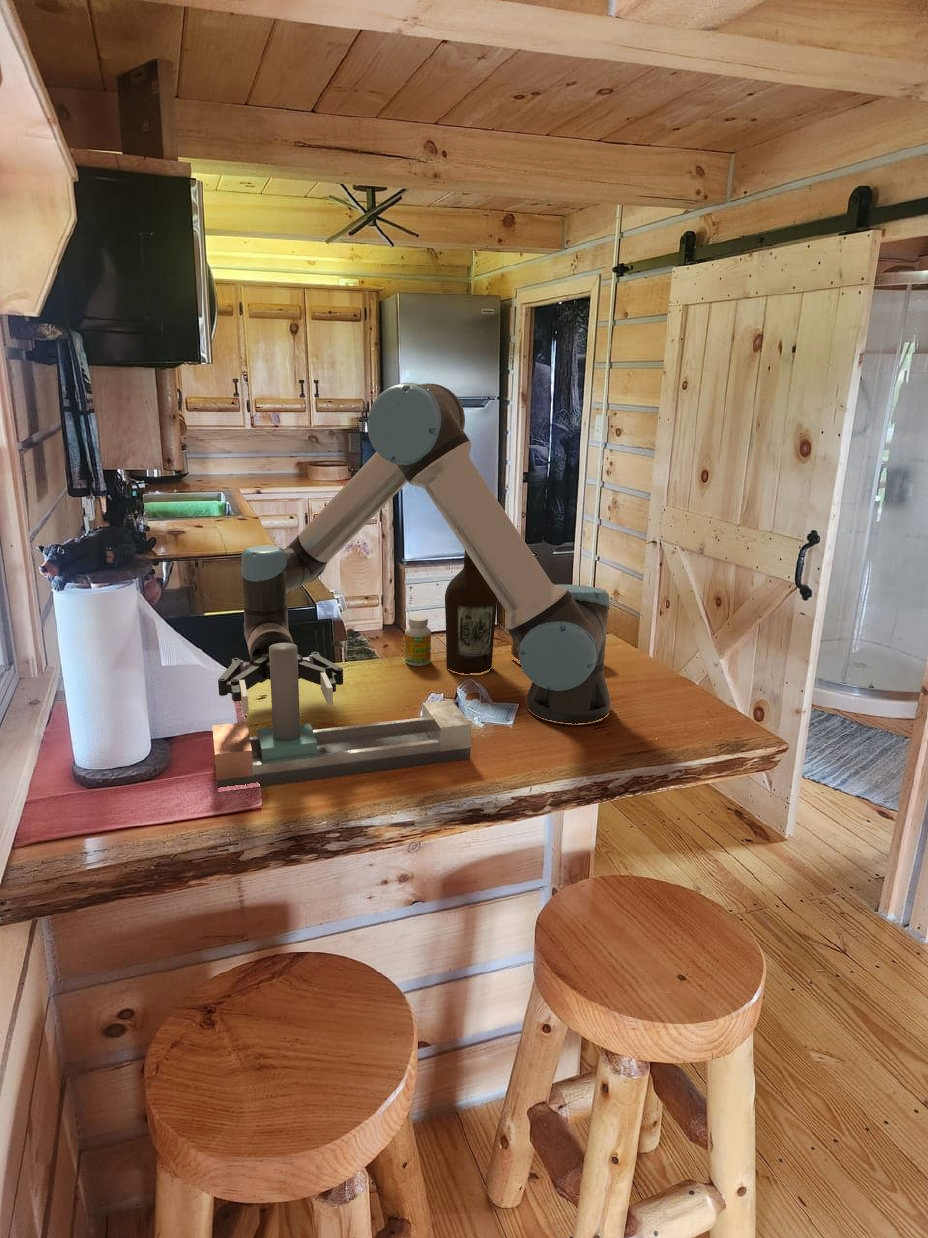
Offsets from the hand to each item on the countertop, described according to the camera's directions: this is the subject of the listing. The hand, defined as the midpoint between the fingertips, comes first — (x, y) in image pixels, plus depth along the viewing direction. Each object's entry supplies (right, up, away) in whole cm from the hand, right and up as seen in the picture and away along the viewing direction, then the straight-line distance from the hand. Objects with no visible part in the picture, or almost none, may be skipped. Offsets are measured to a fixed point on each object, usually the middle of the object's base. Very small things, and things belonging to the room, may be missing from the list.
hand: (288, 700), depth 113 cm
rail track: (+6, -10, +10) cm, 16 cm away
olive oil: (+26, +1, +50) cm, 57 cm away
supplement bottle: (+15, +2, +53) cm, 56 cm away
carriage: (-2, -9, +7) cm, 11 cm away
